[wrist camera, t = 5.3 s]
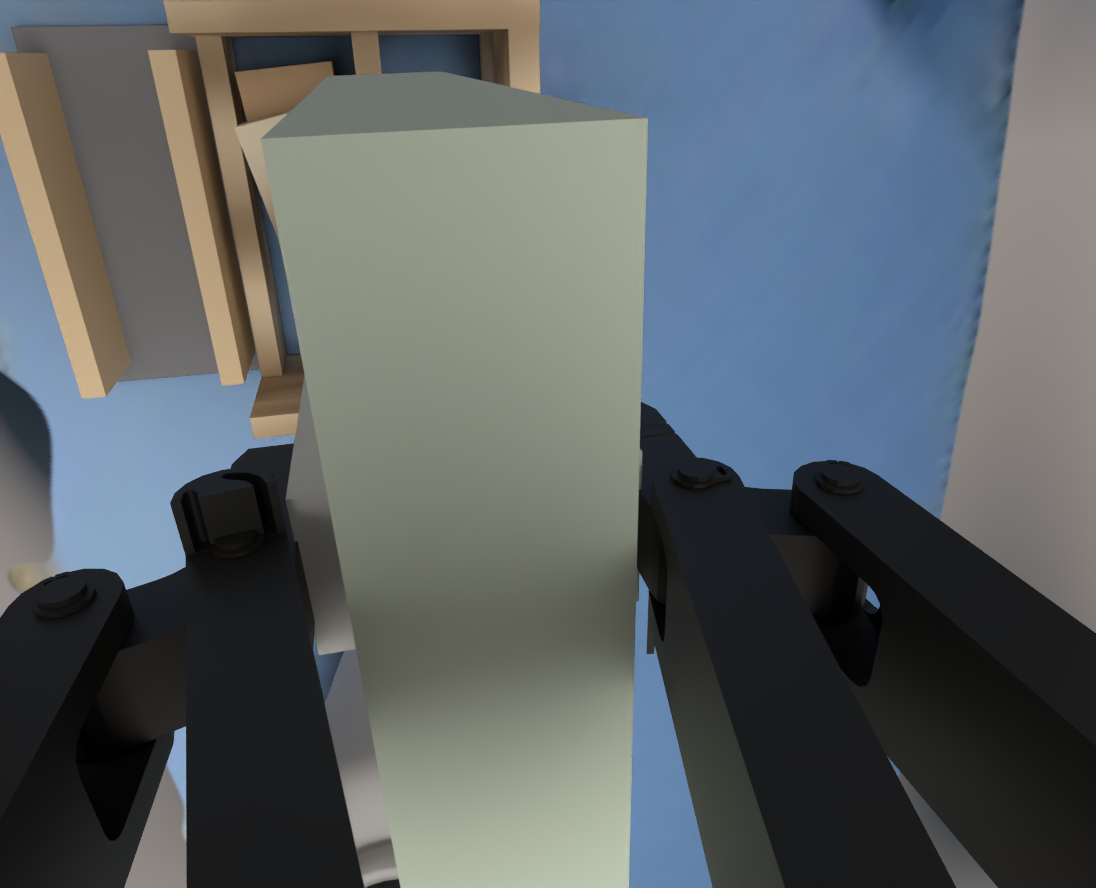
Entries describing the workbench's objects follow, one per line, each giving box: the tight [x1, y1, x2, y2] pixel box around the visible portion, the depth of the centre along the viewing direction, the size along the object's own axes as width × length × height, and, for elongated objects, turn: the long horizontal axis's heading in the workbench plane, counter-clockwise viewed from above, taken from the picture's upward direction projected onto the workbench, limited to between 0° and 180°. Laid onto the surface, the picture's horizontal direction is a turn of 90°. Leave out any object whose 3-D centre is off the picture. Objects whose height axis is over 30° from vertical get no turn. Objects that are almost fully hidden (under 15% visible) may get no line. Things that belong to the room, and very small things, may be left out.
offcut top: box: [234, 110, 291, 242], centre depth 34 cm, size 7×4×2 cm, turn 13°
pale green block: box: [261, 71, 648, 888], centre depth 18 cm, size 12×4×20 cm, turn 2°
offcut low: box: [235, 61, 336, 257], centre depth 37 cm, size 10×4×4 cm, turn 6°
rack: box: [163, 0, 540, 438], centre depth 36 cm, size 17×13×8 cm
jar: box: [325, 649, 401, 888], centre depth 42 cm, size 19×15×25 cm
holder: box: [0, 25, 260, 399], centre depth 35 cm, size 16×7×5 cm, turn 1°
